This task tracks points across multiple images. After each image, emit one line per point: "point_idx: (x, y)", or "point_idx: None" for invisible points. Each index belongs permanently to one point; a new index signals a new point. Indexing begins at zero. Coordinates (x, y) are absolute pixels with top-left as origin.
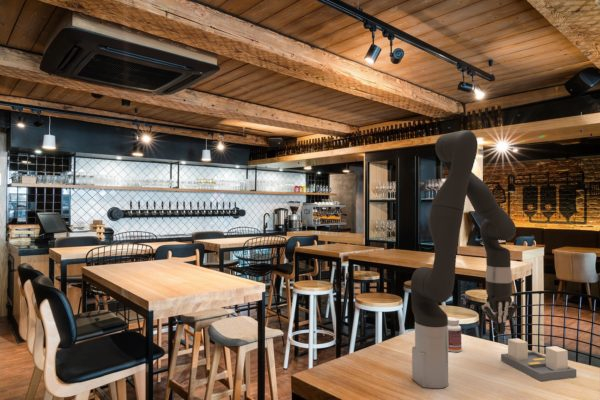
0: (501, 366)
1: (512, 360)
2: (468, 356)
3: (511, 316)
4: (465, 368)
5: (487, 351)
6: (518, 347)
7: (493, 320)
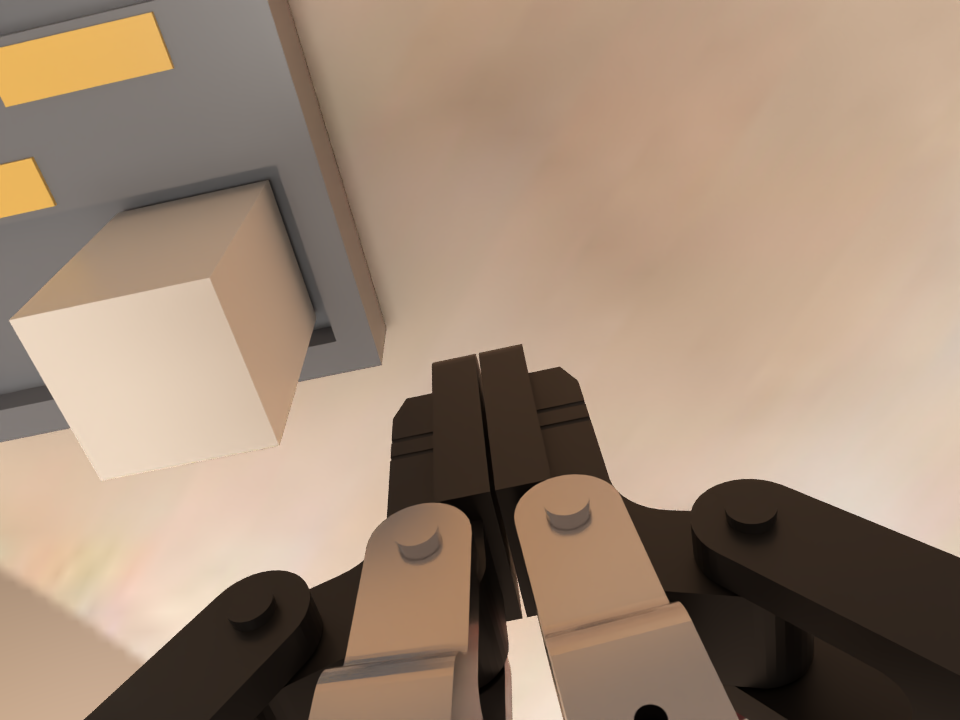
0: (462, 178)
1: (329, 187)
2: (667, 432)
3: (157, 671)
4: (911, 128)
5: None
6: (204, 255)
7: (788, 501)
